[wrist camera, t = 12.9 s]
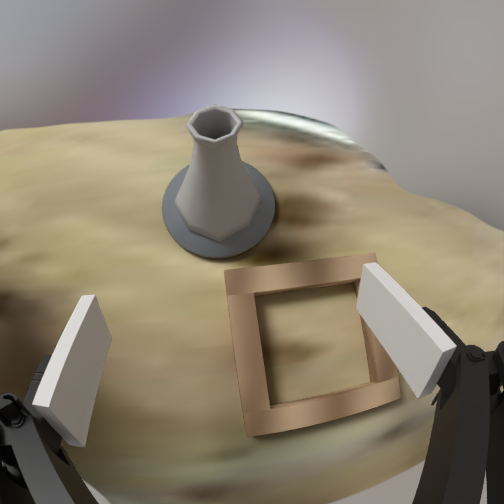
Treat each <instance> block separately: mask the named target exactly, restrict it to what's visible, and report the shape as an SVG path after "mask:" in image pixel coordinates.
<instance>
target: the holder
mask: <svg viewBox="0 0 504 504" xmlns="http://www.w3.org/2000/svg"><path fill="white" fill-rule="evenodd" d="M374 262H376V263H377V264H378V262H377V258H376V254H375V253H369V254H361V255H353V256H345V257H336V258H328V259H320V260H311V261H302V262H294V263H285V264H276V265H267V266H258V267H249V268H240V269H230V270H224V274H225V283H226V292H227V300H228V309H229V317H230V324H231V332H232V340H233V347H234V355H235V362H236V369H237V376H238V383H239V390H240V397H241V404H242V410H243V417H244V423H245V430H246V435H247V437H251V436H258V435H265V434H271V433H277V432H282V431H287V430H293V429H297V428H302V427H307V426H311V425H315V424H319V423H323V422H327V421H331V420H335V419H339V418H342V417H346V416H349V415H353V414H356V413H359V412H362V411H365V410H369V409H372V408H375V407H378V406H380V405H383V404H386V403H389V402H392V401H394V400H397V399H400V398H401V397H400V387H399V378H398V370H397V366H396V365H395V363H394V362H393V361H392V359H391V358H390V356H389V355H388V353H387V352H386V350H385V349H384V347H383V346H382V345H381V343H380V342H379V340H378V339H377V337H376V336H375V335H374V333H373V332H372V330H371V329H370V328H369V326H368V325H367V323H366V322H365V321H364V319H363V318H362V316H361V315H360V316H361V322H362V328H363V334H364V340H365V346H366V352H367V359H368V366H369V374H370V381H371V382H369V383H365V384H362V385H359V386H355V387H351V388H348V389H344V390H340V391H336V392H332V393H328V394H324V395H320V396H315V397H311V398H306V399H301V400H296V401H291V402H286V403H280V404H275V405H270V403H269V396H268V389H267V382H266V375H265V368H264V361H263V354H262V347H261V340H260V333H259V326H258V319H257V312H256V305H255V298H254V296H259V295H267V294H275V293H283V292H290V291H298V290H305V289H312V288H319V287H326V286H332V285H339V284H345V283H352V282H354V286H355V291H356V296H357V298H358V293H359V287H360V281H361V274H362V268H363V264H367V263H374Z"/></svg>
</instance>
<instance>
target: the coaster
mask: <svg viewBox="0 0 504 504" xmlns="http://www.w3.org/2000/svg"><path fill="white" fill-rule="evenodd" d="M242 163H243V165H244V167H245V169H246V171H247V173H248V175H249V177H250V179H251V181H252V182H253V184H254V186H255V188H256V189H257V191H258V193H259V195H260V197H261V202H260V204H259V206H258V208H257V211H256V213H255V215H254V217H253V219H252V222H251V224H250V226H249V227H247V228H245V229H243V230H241V231H239V232H238V233H236V234H234V235H232V236H230V237H228V238H226V239H224V240H222V241H221V242H218V241H215V240H213V239H210V238H208V237H206V236H203V235H201V234H198V233H196V232H193V231H191V230H188V228H187V227H186V225H185V223H184V221H183V219H182V217H181V216H180V214H179V212H178V210H177V208H176V206H175V205H174V202H175V199H176V197H177V194H178V192H179V190H180V188H181V185H182V183H183V181H184V178H185V176H186V173H187V171H188V168H189V166H190V165H188V166H187V167H185V168H184V169H182V170H181V171H180V172H179V173H178V174H177V175H176V176H175V177H174V178H173V179H172V180H171V182H170V183H169V185H168V187H167V189H166V191H165V194H164V198H163V203H162V213H163V218H164V222H165V224H166V227H167V229H168V231H169V233H170V235H171V236H172V237H173V239H174V240H175V241H176V242H177V243H178V244H179V245H180V246H181V247H183V248H184V249H186V250H187V251H189V252H191V253H193V254H195V255H198V256H201V257H206V258H214V259H221V258H229V257H234V256H237V255H240V254H242V253H244V252H247V251H248V250H250V249H252V248H253V247H254V246H256V245H257V244H258V243H259V242H260V241H261V240H262V239H263V238H264V236H265V235H266V234H267V232H268V230H269V228H270V226H271V223H272V220H273V217H274V212H275V199H274V194H273V191H272V189H271V186H270V184H269V183H268V181H267V180H266V178H265V177H264V176H263V175H262V174H261V173H260V172H259V171H258V170H257V169H255V168H254V167H253V166H251V165H249V164H247V163H245V162H243V161H242Z"/></svg>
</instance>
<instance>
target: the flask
mask: <svg viewBox="0 0 504 504" xmlns="http://www.w3.org/2000/svg"><path fill="white" fill-rule="evenodd" d="M242 126H243V121H242V120H241V118H240V117H239V116H238V115H237V114H236V113H235V111H234V110H233V109H229V108H226V107H222V106H218V105H212V106H209V107H206V108H203V109H201V110H198V111H196V112H195V113H194V115H193V116H192V117H191V118H190V120H189V121H188V122H187V124H186V127H187V129H188V131H189V132H190V134H191V135H192V137H193V145H194V146H193V152H192V159H191V163H190V166H189V168H188V171H187V173H186V176H185V178H184V181H183V183H182V185H181V188H180V190H179V192H178V194H177V197H176V199H175V202H174V205H175V206H176V208H177V210H178V212H179V214H180V216H181V217H182V219H183V221H184V223H185V225H186V227H187V228H188V230H191V231H193V232H196V233H198V234H201V235H203V236H206V237H208V238H210V239H213V240H215V241H218V242H221V241H222V240H224V239H226V238H228V237H230V236H232V235H234V234H236V233H238V232H239V231H241V230H243V229H245V228H247V227H249V226H250V224H251V222H252V219H253V217H254V215H255V213H256V211H257V208H258V206H259V204H260V202H261V197H260V195H259V193H258V191H257V189H256V188H255V186H254V184H253V182H252V181H251V179H250V177H249V175H248V173H247V171H246V169H245V167H244V165H243V163H242V161H241V158H240V154H239V150H238V145H237V134H238V133H239V131H240V129H241V128H242Z"/></svg>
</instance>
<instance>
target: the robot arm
mask: <svg viewBox="0 0 504 504" xmlns="http://www.w3.org/2000/svg"><path fill="white" fill-rule="evenodd" d="M356 309H357V311H358V312H359V314H360V315H361V316H362V318H363V319H364V321H365V322H366V323H367V325H368V326H369V328H370V329H371V330H372V332H373V333H374V335H375V336H376V337H377V339H378V340H379V342H380V343H381V345H382V346H383V347H384V349H385V350H386V352H387V353H388V355H389V356H390V358H391V359H392V361H393V362H394V363H395V365H396V366H397V368H398V369H399V371H400V372H401V374H402V375H403V377H404V378H405V380H406V381H407V383H408V384H409V386H410V387H411V389H412V391H413V392H414V394H415V395H416V397H417V398H418V399H419V398H421V397H423V396H426V395H428V394H430V393H432V391H433V389H434V388H435V386H436V384H438V386H439V387H440V390H439V392H438V393H437V395H436V397H435V398H434V400H433V401H432V404H431V405H434V404H435V402H436V400H437V404H436V411H435V417H434V423H433V428H432V433H431V438H430V443H429V447H428V452H427V456H426V460H425V464H424V468H423V472H422V475H421V479H420V482H419V485H418V488H417V491H416V494H415V498H414V500H413V503H412V504H480V499H481V494H482V489H483V484H484V477H485V470H486V479H487V504H504V391H503V392H502V393H501V391H500V387H501V386H502V385H503V389H504V341H502V342H500V343H499V345H498V346H497V348H496V350H495V351H489V352H484V351H483V350H482V349H481V348H480V347H478V346H475V345H467V346H466V345H465V344H464V343H463V342H462V341H461V340H460V338H459V337H458V336H457V335H456V334H455V333H454V332H453V331H452V330H451V329H450V328H449V327H448V326H447V324H446V323H445V322H444V321H443V320H441V318H440V317H439V316H438V315H437V314H436V313H435V312H434V311H432V310H430V309H428V308H427V307H423V308H421V307H420V306H419V305H418V304H417V303H416V302H415V301H414V300H413V298H412V297H411V296H410V295H409V294H408V293H407V292H406V291H405V290H404V289H403V288H402V287H401V286H400V285H399V284H398V283H397V282H396V281H395V280H394V279H393V278H392V277H391V276H389V275H388V274H387V273H386V272H385V271H384V270H383V269H382V268H381V267H380V266H379V265H378V264H377V263H376V262H374V263H367V264H363V268H362V274H361V281H360V287H359V293H358V298H357V304H356ZM111 340H112V337H111V334H110V332H109V329H108V327H107V324H106V322H105V319H104V317H103V314H102V312H101V309H100V306H99V304H98V301H97V298H96V295H84V296H82V297H81V298H80V300H79V302H78V304H77V306H76V308H75V310H74V311H73V313H72V315H71V317H70V319H69V321H68V323H67V325H66V327H65V329H64V331H63V333H62V335H61V337H60V339H59V341H58V344H57V346H56V348H55V350H54V352H53V354H52V355H46V356H45V357H44V359H43V360H42V361H41V362H40V363H39V365H38V368H37V370H36V374H34V377H33V381H31V384H30V386H29V389H28V391H27V393H26V396H25V398H24V401H23V404H22V402H21V401H20V400H19V399H18V397H17V396H16V395H15V394H13V393H8V392H7V393H4V394H2V395H0V504H98V502H97V501H96V499H95V498H94V497H93V495H92V494H91V492H90V491H89V489H88V488H87V486H86V485H85V483H84V482H83V480H82V479H81V477H80V475H79V474H78V472H77V470H76V469H75V467H74V465H73V464H72V462H71V460H70V459H69V457H68V455H67V453H66V451H65V450H64V448H63V447H62V446H61V445H60V444H61V440H62V438H63V439H64V440H65V441H66V442H67V443H68V444H69V445H71V446H78V447H85V445H86V440H87V435H88V430H89V425H90V420H91V415H92V411H93V407H94V402H95V398H96V394H97V390H98V386H99V382H100V378H101V375H102V371H103V367H104V364H105V360H106V357H107V353H108V350H109V347H110V343H111ZM2 463H3V466H2Z"/></svg>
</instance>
